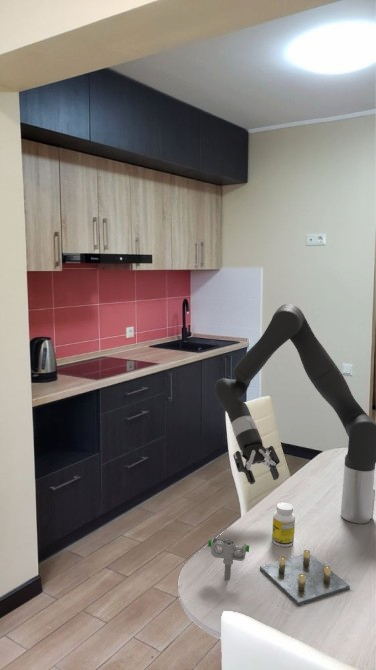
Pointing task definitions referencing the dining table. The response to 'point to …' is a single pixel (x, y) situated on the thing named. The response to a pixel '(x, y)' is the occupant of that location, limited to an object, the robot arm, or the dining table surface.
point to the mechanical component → (227, 553)
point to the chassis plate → (310, 580)
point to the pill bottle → (283, 525)
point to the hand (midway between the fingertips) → (265, 481)
